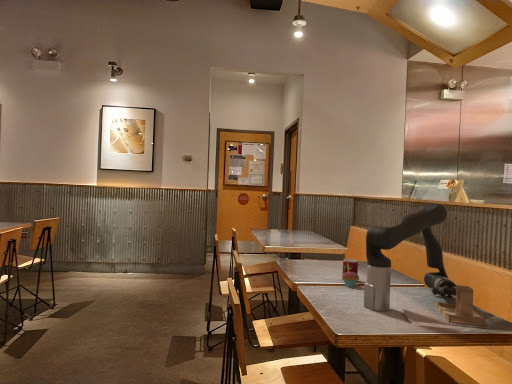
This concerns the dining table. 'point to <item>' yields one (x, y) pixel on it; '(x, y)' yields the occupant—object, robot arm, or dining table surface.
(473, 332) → the dining table surface
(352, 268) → the canned food
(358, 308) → the dining table surface
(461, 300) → the walnut block
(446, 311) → the tray
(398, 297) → the dining table surface
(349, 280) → the cupcake
